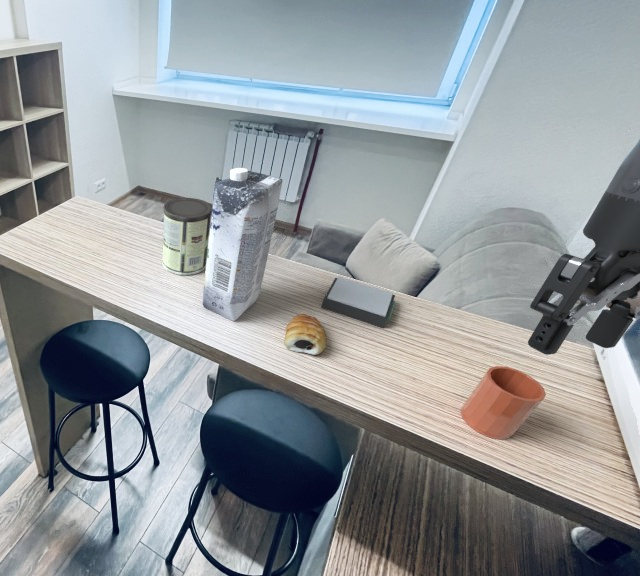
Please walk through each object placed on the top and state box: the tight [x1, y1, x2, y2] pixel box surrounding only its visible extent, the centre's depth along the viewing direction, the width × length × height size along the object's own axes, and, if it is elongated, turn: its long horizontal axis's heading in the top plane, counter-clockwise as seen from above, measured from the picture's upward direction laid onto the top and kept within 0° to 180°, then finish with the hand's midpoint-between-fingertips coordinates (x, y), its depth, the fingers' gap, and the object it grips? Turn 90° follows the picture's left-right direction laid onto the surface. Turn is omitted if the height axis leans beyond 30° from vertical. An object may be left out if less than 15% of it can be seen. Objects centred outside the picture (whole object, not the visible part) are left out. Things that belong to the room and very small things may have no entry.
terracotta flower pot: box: [460, 365, 547, 440], centre depth 56 cm, size 6×6×8 cm
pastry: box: [283, 313, 327, 356], centre depth 72 cm, size 9×7×4 cm
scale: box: [320, 276, 397, 329], centre depth 79 cm, size 11×9×3 cm
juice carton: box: [202, 167, 284, 322], centre depth 73 cm, size 9×10×27 cm
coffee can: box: [161, 197, 213, 276], centre depth 90 cm, size 10×10×14 cm
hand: (569, 346), depth 43 cm, fingers open, 8 cm apart
